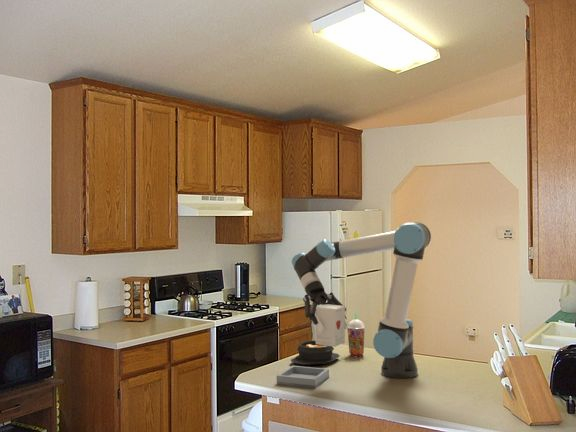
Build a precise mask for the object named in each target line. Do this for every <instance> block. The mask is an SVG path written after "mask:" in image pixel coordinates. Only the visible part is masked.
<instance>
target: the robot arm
mask: <svg viewBox="0 0 576 432" xmlns="http://www.w3.org/2000/svg"><path fill="white" fill-rule="evenodd" d="M431 240H432V235H431V231H430V228H429V227H428V226H427V225H426V224H424V223H422V222H419V221H418V222H417V221H415V222H406V223H405V222H404V223H403V224H402V225H399V227H397V228H396V230H392V231H388V232H382V233H378V234H373V235H372V234H371V235H367V236H366V235H365V236H361V237H355V238H349V239H344V240H339V241H332V242H331V241H329V240H328V239H322V240H321V241H320V242H318V243H317V244H316V245H315V246H314V247H312V249H310V250H309V251H308V252H307V253H305V252H299V253H298V254H295V255H294V256H293V257H292V259H291V264H292V267H293V270H294V271H295V273H296V275H297V277H298V278H299V280H300V284H301V286H302V287H303V289H304V291H305V293H306V294H305V295H304V297H303V298H302V300H303V303H304V316H305V318H306V319H309V321H311V322H312V323H313V325H315V327H316V326H317V328H318V331H319V333H321V332H322V330H323V329H324V328H323V325H322V323H321V321H320V319H319V317H318V315H316V307H318V306H321V305H325V304H331V305H341V306H344V305H343V304H342V303H341V301H340V300H338V299H337V297H336V296H335V294H334V293H333V292H330V293H326V291H325V287H324V285H323V283H322V281H321V280H320V278H319V276H318V274H317V272H316V269H318V268H319V267H320V266H321V265H322V264H324V263H325V262H329V261H334V260H340V259H344V258H351V257H356V256H362V255H370V254H374V253H381V252H387V251H392V250H393V252H392V254H393V256H394V257H395V262H394V268H393V273H392V277H391V283H390V288H389V292H388V298H387V302H386V303H387V304H386V307H385V313H384V316H383V317H381V318H380V320H379V322H378V329H377V331H376V333H375V334H374V336H373V339H372V344H373V347H374V350H375V351H376V353H377V354H378V355H379V356H381V357H382V358H383V361H382V365H381V372H380V373H381V374H382V375H383V376H385V377H388V378H394V379H409V378H413V377H417V376H418V374H419V369H418V368H419V367H418V365H417V363H416V359H415V356H414V324H413V320H411V319H407V317H408V312H409V307H410V305H411V304H410V303H411V298H412V297H411V296H412V293H413V288H414V284H415V278H416V275H417V269H418V264H419V263H420V262H421V261H423V259H424V254H425V249H426V248H427V247H428V246H429V245H430V243H431ZM310 302H312V306H311V303H310ZM346 311H347V308H346V307H345V312H346ZM348 326H349V323H348V320H347V316H346V315H345V330H348V328H347V327H348Z"/></svg>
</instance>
